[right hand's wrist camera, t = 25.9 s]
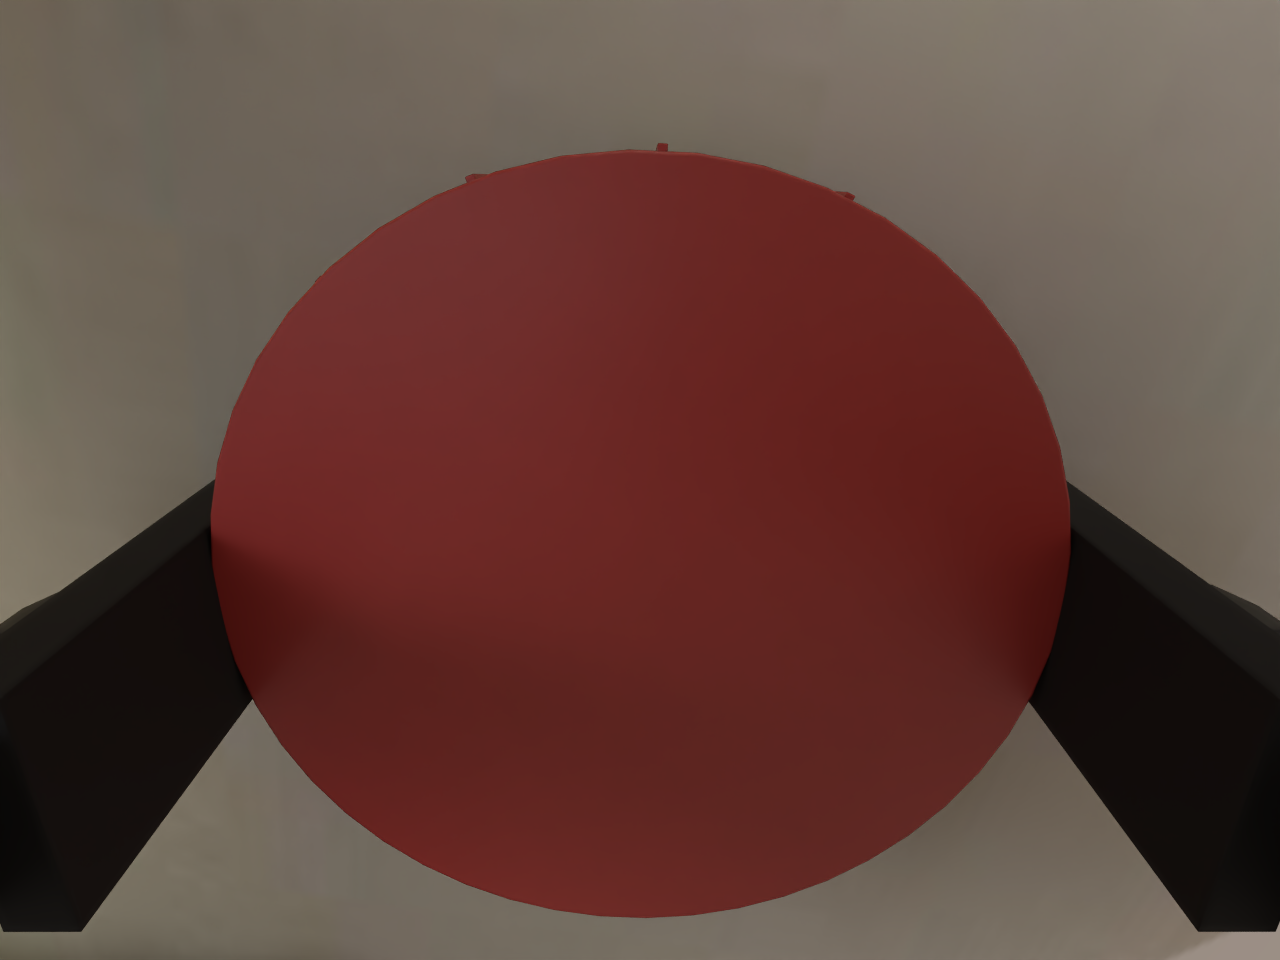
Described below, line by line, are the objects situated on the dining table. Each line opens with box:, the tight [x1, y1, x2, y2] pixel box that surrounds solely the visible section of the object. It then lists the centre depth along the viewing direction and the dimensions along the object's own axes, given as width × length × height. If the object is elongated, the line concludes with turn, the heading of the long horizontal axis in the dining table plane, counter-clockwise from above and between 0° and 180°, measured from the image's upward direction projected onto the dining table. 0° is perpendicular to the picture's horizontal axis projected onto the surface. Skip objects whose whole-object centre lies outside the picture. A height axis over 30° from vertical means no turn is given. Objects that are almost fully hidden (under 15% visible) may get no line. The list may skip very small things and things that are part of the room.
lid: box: [211, 143, 1071, 918], centre depth 11 cm, size 11×11×2 cm
